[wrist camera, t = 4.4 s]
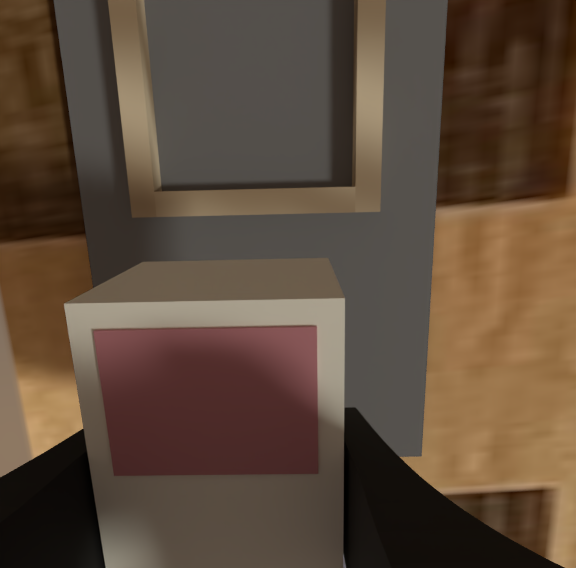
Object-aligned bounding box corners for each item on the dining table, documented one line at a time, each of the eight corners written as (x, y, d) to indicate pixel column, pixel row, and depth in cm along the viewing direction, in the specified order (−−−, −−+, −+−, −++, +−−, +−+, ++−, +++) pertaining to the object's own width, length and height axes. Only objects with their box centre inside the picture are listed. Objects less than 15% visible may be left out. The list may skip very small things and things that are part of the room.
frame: (375, 210, 18) (380, 211, 17) (140, 215, 18) (132, 217, 17) (385, -185, 15) (391, -211, 14) (99, -172, 15) (86, -197, 14)
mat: (418, 450, 21) (421, 456, 21) (120, 453, 21) (116, 459, 21) (454, -197, 15) (459, -210, 14) (36, -177, 15) (27, -189, 15)
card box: (328, 536, 13) (342, 685, 9) (172, 537, 14) (122, 684, 10) (328, 257, 11) (345, 298, 7) (143, 261, 11) (61, 304, 7)
